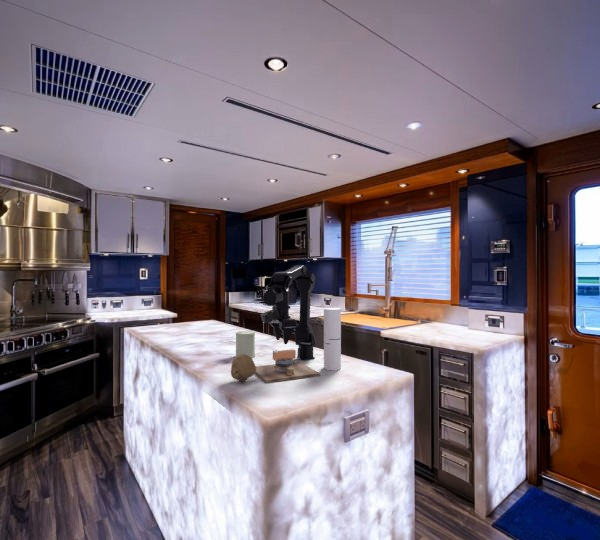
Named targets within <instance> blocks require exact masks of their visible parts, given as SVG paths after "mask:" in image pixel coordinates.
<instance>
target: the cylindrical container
mask: <svg viewBox="0 0 600 540" xmlns="http://www.w3.org/2000/svg"><path fill="white" fill-rule="evenodd" d="M341 340H342V308H339V307H324V308H323V369H325V370H326V371H340V370H341V369H342V347H341V346H342V345H341V344H342V341H341Z"/></svg>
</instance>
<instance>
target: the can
mask: <svg viewBox="0 0 600 540" xmlns="http://www.w3.org/2000/svg"><path fill="white" fill-rule="evenodd" d="M255 340H256V332H255V331H252V330H241V331H236V332H235V357H236V356H238V355H242V354H246V355H248V356H250V357H251V358H252V359H253V358H255V357H256V347H255V344H256V341H255Z"/></svg>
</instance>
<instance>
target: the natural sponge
mask: <svg viewBox="0 0 600 540" xmlns="http://www.w3.org/2000/svg"><path fill="white" fill-rule="evenodd" d="M256 366H257V365H256V363H255V361H254V360H253V358H251V357H250V356H248V355H246V354H242V355H238V356H236V355H235V358H233V360H232V363H231V366H230V367H231V368H230V376H231V377H232V378H233V379H234V380H236V381H238V382H240V383H241V382H246V381H247V380H248V379H250V378H251V377H253V376H254V375H256V374H255V372H256Z"/></svg>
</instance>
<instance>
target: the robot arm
mask: <svg viewBox="0 0 600 540" xmlns="http://www.w3.org/2000/svg"><path fill="white" fill-rule="evenodd" d="M293 280H295V282H296V287H297V289H298V291H299V292H300V293H299V295H300V297H299V324H298V321H297V320H296V319H294V318H291V316H290V312H289V311H290V310H289V309H291V305H290V304H289V303H290V301H289V300H290V299H289V298H290V295H289V293H290V292H291V289H290V286H291V285H292V284H293ZM315 283H316V276H315V275H314V273H313V272H312V271H311V270H309V269H308V268H307V267H306V265H304V264H303V265H302V264H301V265H294V266H293V267H291V268H290V269H287V270H285V271H278V272H274V273H272V276H271V277H270V281H269V283H268V287H267V290H266V291H265V292H264V294H263V296H262V299H263V302H264V304H265V305H267V306H272V308H271V309H270V310H268V311H267V310H266V311H264V312H263V313H260V319H261V321H262V323H265V324H267V323H268V324H269V325H271V327H272V328H273V333H274V335H275V339H276V340H277V341H280V338H281V336H282V338H283V344H284V345H287V344H288V342H289V341H290V338H291V336H292V334H293V332H294V331H295V333H294V341H295V346H298V348H297V357H296V358H298V359H299V360H302V361H306V360H314V359H316V357H315V356H314V347H315V346H317V339H316V337H315V335H314V328H313V327H312V325H311V323H310V322H311V293H312V292H313V290H314V288H315Z"/></svg>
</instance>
